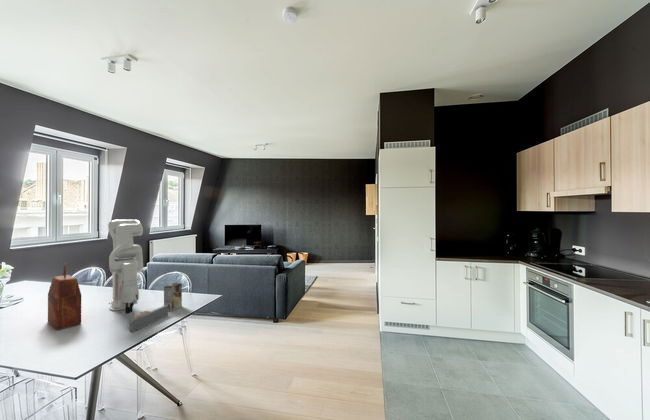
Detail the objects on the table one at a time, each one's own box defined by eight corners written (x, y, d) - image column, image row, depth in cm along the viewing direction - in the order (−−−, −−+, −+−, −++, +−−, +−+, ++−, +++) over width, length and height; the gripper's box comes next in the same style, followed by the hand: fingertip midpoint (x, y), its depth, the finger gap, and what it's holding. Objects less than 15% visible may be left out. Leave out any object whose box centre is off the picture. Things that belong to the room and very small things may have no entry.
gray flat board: (130, 331, 141) (130, 320, 141) (165, 314, 165) (165, 305, 165) (133, 332, 141) (133, 321, 141) (167, 314, 164) (167, 305, 164)
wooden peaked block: (71, 316, 160) (72, 260, 161) (81, 324, 150) (81, 263, 150) (47, 322, 152) (48, 263, 152) (55, 331, 141) (56, 267, 141)
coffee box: (174, 305, 180) (174, 282, 180) (182, 306, 179) (182, 283, 179) (163, 310, 171) (163, 286, 171) (171, 311, 170) (171, 287, 170)
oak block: (134, 323, 151) (134, 315, 151) (144, 318, 158) (144, 310, 158) (144, 325, 150) (144, 316, 150) (154, 319, 157) (154, 311, 157)
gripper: (113, 283, 153) (112, 314, 153) (134, 285, 151) (133, 316, 151) (124, 280, 161) (124, 309, 161) (145, 281, 158) (144, 311, 158)
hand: (128, 312), depth 156 cm, fingers closed
